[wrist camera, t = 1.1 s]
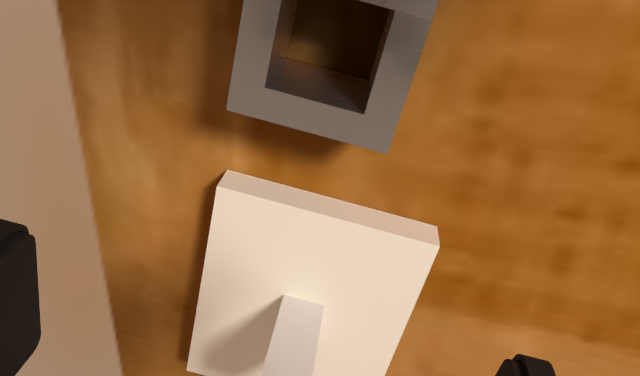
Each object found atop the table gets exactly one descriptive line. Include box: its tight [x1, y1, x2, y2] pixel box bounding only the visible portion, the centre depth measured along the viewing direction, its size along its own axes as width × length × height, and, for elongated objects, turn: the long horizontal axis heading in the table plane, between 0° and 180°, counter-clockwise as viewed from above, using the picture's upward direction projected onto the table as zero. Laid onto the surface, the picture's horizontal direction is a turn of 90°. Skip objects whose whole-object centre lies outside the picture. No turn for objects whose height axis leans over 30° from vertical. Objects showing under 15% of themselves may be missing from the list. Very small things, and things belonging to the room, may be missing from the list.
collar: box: [226, 0, 439, 154], centre depth 23 cm, size 7×7×5 cm
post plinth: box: [187, 169, 440, 376], centre depth 28 cm, size 14×12×9 cm
